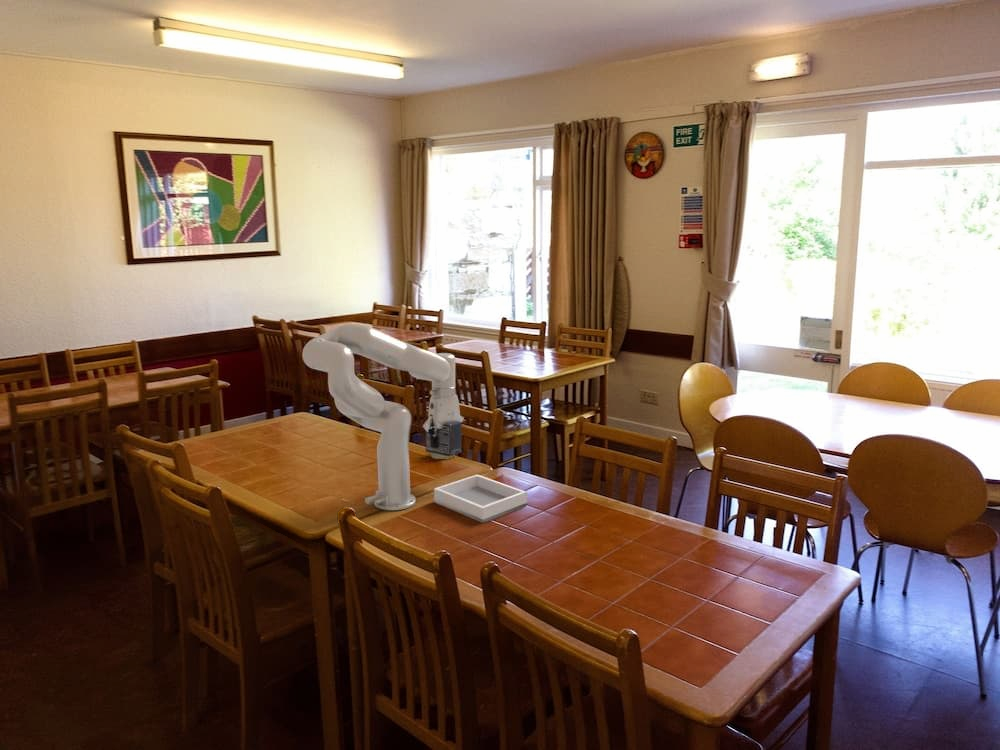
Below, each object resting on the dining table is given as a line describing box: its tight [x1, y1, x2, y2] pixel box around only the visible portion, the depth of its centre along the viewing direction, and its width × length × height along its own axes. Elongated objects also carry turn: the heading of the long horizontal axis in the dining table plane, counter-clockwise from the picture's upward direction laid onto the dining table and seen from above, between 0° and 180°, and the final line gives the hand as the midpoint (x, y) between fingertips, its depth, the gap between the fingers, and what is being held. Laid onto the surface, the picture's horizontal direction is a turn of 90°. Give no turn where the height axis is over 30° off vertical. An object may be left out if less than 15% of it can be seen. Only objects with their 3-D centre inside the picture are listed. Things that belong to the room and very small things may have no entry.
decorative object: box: [430, 452, 456, 460], centre depth 263 cm, size 9×10×10 cm
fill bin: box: [433, 474, 527, 524], centre depth 217 cm, size 18×22×4 cm
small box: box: [425, 419, 463, 456], centre depth 232 cm, size 11×6×10 cm, turn 56°
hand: (443, 444), depth 232 cm, fingers closed on small box, 7 cm apart
